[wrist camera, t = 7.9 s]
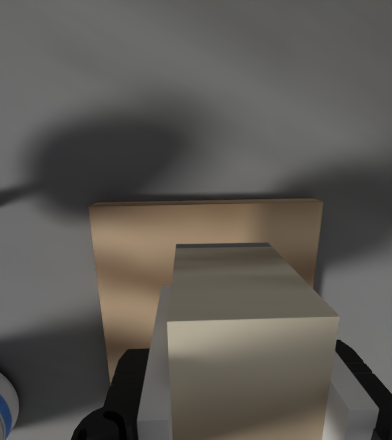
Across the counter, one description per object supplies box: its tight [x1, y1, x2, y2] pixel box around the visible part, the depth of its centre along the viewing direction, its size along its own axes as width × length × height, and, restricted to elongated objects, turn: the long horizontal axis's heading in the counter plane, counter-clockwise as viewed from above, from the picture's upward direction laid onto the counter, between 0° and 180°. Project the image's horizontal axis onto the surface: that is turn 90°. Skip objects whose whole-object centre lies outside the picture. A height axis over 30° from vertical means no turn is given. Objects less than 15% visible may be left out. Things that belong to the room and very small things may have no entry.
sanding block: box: [167, 242, 340, 440], centre depth 10 cm, size 7×4×6 cm, turn 0°
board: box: [88, 198, 324, 385], centre depth 21 cm, size 24×16×2 cm, turn 1°
